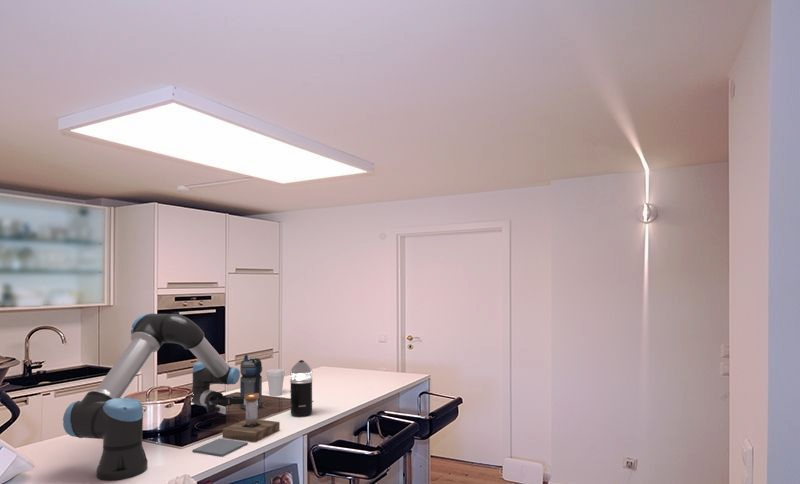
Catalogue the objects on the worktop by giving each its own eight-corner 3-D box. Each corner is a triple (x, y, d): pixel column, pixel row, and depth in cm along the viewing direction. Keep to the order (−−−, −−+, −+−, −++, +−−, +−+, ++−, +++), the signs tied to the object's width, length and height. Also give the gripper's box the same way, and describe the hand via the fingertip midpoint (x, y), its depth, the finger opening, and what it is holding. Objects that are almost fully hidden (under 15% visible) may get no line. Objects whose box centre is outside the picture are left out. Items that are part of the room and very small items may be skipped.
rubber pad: (222, 456, 186) (222, 454, 186) (192, 451, 191) (192, 449, 191) (247, 444, 198) (247, 442, 199) (219, 440, 204) (219, 438, 204)
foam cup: (266, 393, 282) (266, 369, 283) (283, 392, 285) (283, 368, 286) (267, 397, 273) (267, 372, 274) (285, 396, 276) (285, 371, 276)
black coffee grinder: (290, 418, 233) (290, 362, 235) (289, 412, 243) (289, 359, 245) (313, 416, 236) (313, 361, 237) (311, 410, 246) (311, 357, 247)
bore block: (254, 442, 201) (254, 433, 201) (222, 437, 207) (222, 428, 207) (279, 430, 216) (279, 421, 216) (248, 426, 222) (248, 418, 222)
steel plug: (252, 437, 207) (252, 396, 208) (240, 435, 210) (241, 395, 211) (262, 432, 213) (262, 393, 214) (250, 431, 215) (250, 392, 216)
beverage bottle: (250, 412, 245) (250, 359, 246) (235, 407, 253) (235, 356, 255) (268, 407, 252) (268, 356, 254) (253, 403, 261) (253, 353, 263)
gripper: (236, 402, 241) (264, 409, 227) (185, 414, 221) (212, 423, 208) (236, 386, 241) (264, 392, 227) (186, 396, 222) (212, 404, 208)
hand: (239, 407), depth 218 cm, fingers open, 13 cm apart
